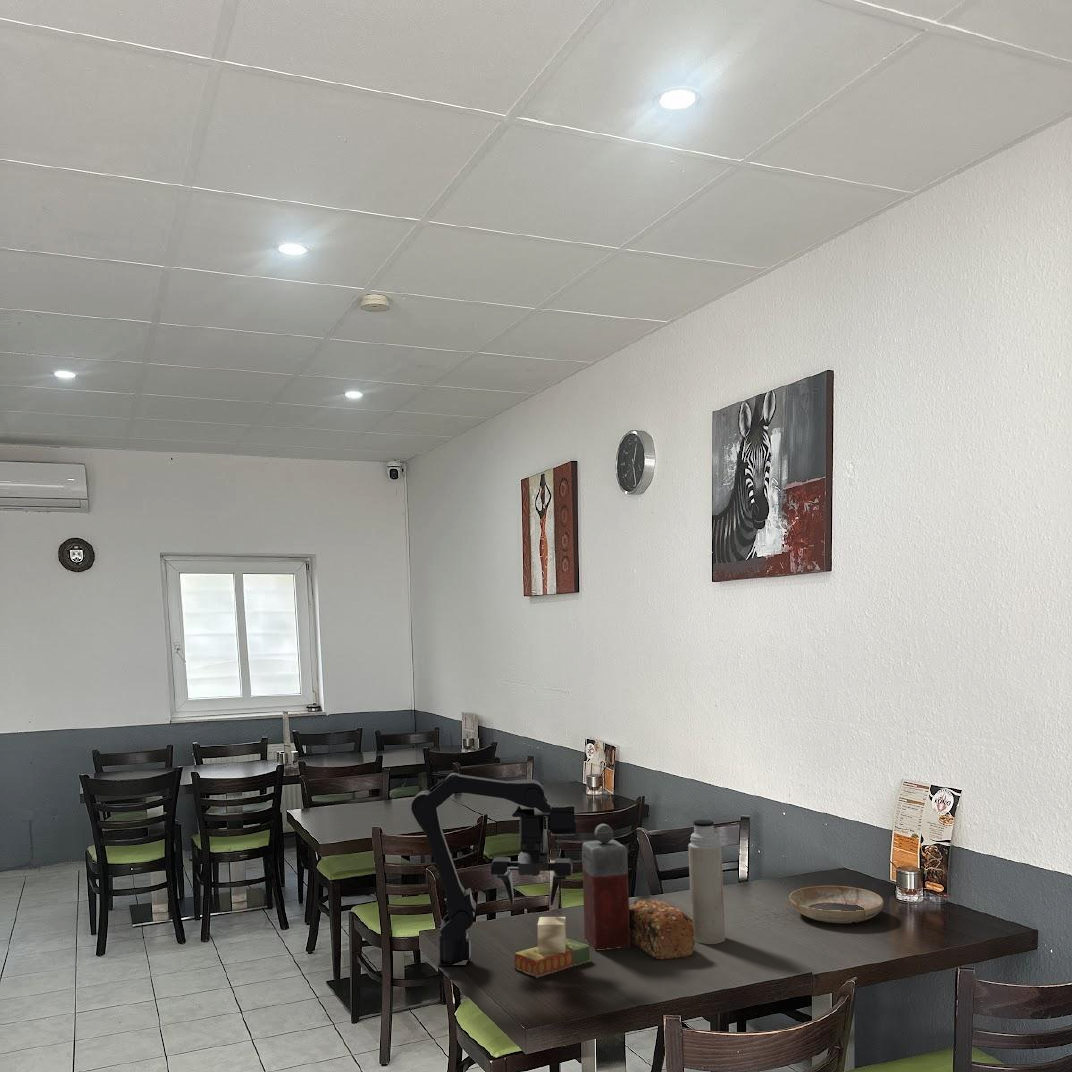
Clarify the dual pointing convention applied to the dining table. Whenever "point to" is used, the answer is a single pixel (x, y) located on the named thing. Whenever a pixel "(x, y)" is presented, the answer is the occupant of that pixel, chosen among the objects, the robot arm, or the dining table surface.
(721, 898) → the thermos bottle
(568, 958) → the carton
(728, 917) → the dining table surface
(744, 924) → the dining table surface
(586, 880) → the red sauce bottle
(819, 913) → the ceramic bowl
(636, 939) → the bread
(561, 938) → the beech cube
